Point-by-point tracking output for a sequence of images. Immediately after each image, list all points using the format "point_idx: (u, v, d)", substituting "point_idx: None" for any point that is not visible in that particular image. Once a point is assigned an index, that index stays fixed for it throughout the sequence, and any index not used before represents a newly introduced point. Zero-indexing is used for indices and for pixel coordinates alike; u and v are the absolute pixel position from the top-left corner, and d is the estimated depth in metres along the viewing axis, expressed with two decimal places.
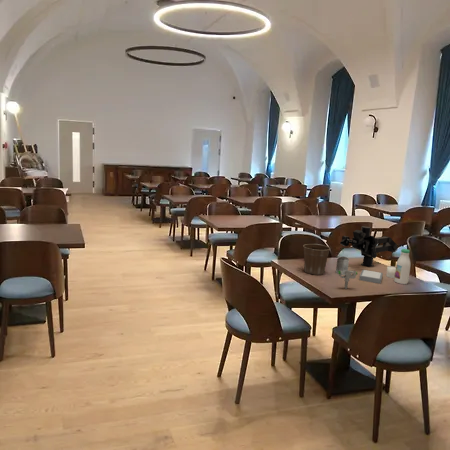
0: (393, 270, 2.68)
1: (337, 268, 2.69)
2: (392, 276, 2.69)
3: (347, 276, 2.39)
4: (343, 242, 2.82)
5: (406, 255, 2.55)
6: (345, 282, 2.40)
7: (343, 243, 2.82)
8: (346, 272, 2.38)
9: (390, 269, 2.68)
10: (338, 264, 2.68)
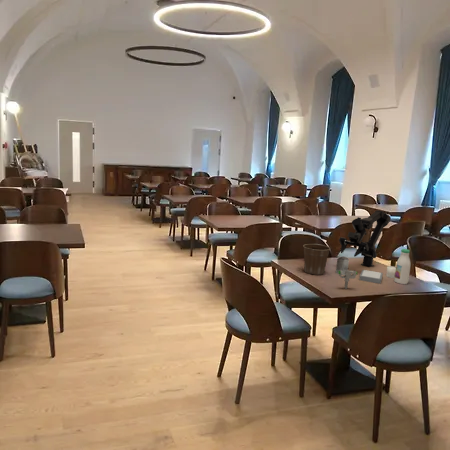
0: (393, 270, 2.68)
1: (337, 268, 2.69)
2: (392, 276, 2.69)
3: (347, 276, 2.39)
4: (343, 248, 2.76)
5: (406, 255, 2.55)
6: (345, 282, 2.40)
7: (343, 249, 2.77)
8: (346, 272, 2.38)
9: (390, 269, 2.68)
10: (338, 264, 2.68)
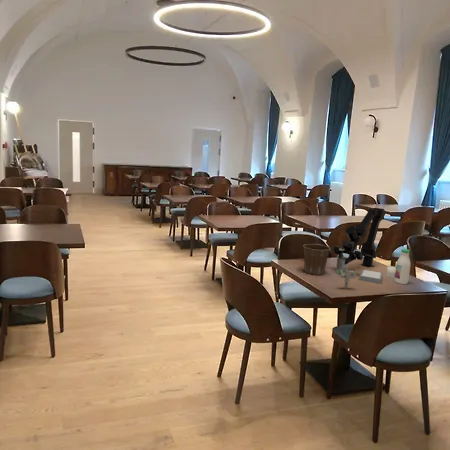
0: (393, 270, 2.68)
1: (337, 268, 2.69)
2: (392, 276, 2.69)
3: (347, 276, 2.39)
4: None
5: (406, 255, 2.55)
6: (345, 282, 2.40)
7: None
8: (346, 272, 2.38)
9: (390, 269, 2.68)
10: (338, 264, 2.68)
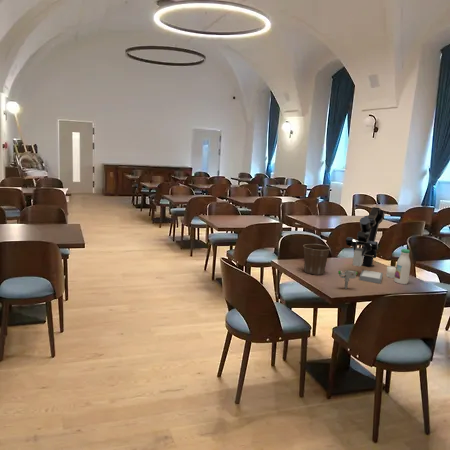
0: (393, 270, 2.68)
1: (354, 260, 2.65)
2: (392, 276, 2.69)
3: (347, 276, 2.39)
4: None
5: (406, 255, 2.55)
6: (345, 282, 2.40)
7: None
8: (346, 272, 2.38)
9: (390, 269, 2.68)
10: (355, 256, 2.64)
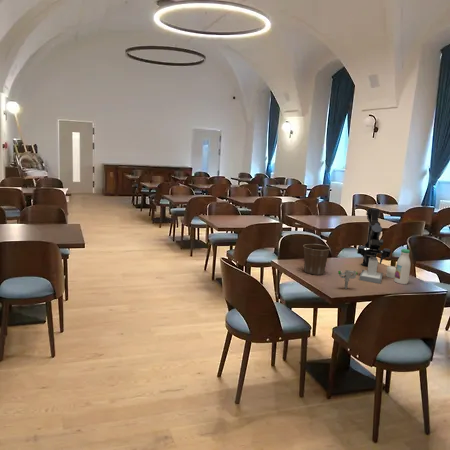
0: (393, 270, 2.68)
1: (370, 269, 2.61)
2: (392, 276, 2.69)
3: (347, 276, 2.39)
4: (366, 257, 2.64)
5: (406, 255, 2.55)
6: (345, 282, 2.40)
7: None
8: (346, 272, 2.38)
9: (390, 269, 2.68)
10: (371, 265, 2.60)
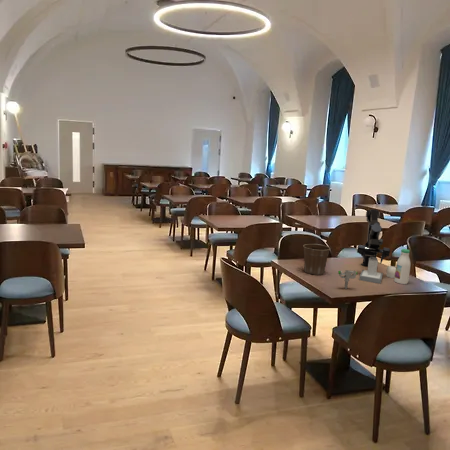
0: (393, 270, 2.68)
1: (370, 269, 2.61)
2: (392, 276, 2.69)
3: (347, 276, 2.39)
4: (365, 256, 2.67)
5: (406, 255, 2.55)
6: (345, 282, 2.40)
7: (364, 257, 2.67)
8: (346, 272, 2.38)
9: (390, 269, 2.68)
10: (371, 265, 2.60)
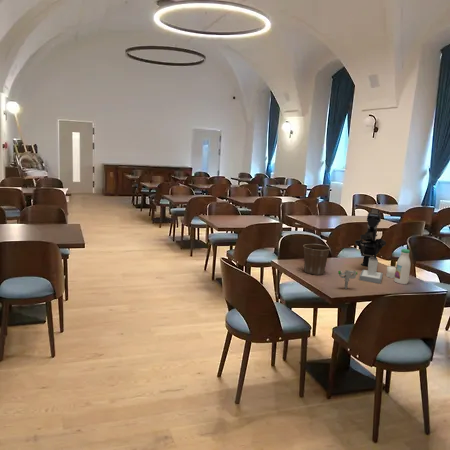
0: (393, 270, 2.68)
1: (370, 269, 2.61)
2: (392, 276, 2.69)
3: (347, 276, 2.39)
4: (362, 251, 2.78)
5: (406, 255, 2.55)
6: (345, 282, 2.40)
7: (363, 251, 2.78)
8: (346, 272, 2.38)
9: (390, 269, 2.68)
10: (371, 265, 2.60)
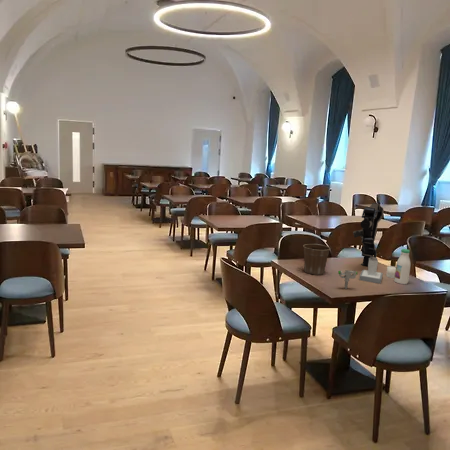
0: (393, 270, 2.68)
1: (370, 269, 2.61)
2: (392, 276, 2.69)
3: (347, 276, 2.39)
4: None
5: (406, 255, 2.55)
6: (345, 282, 2.40)
7: None
8: (346, 272, 2.38)
9: (390, 269, 2.68)
10: (371, 265, 2.60)
